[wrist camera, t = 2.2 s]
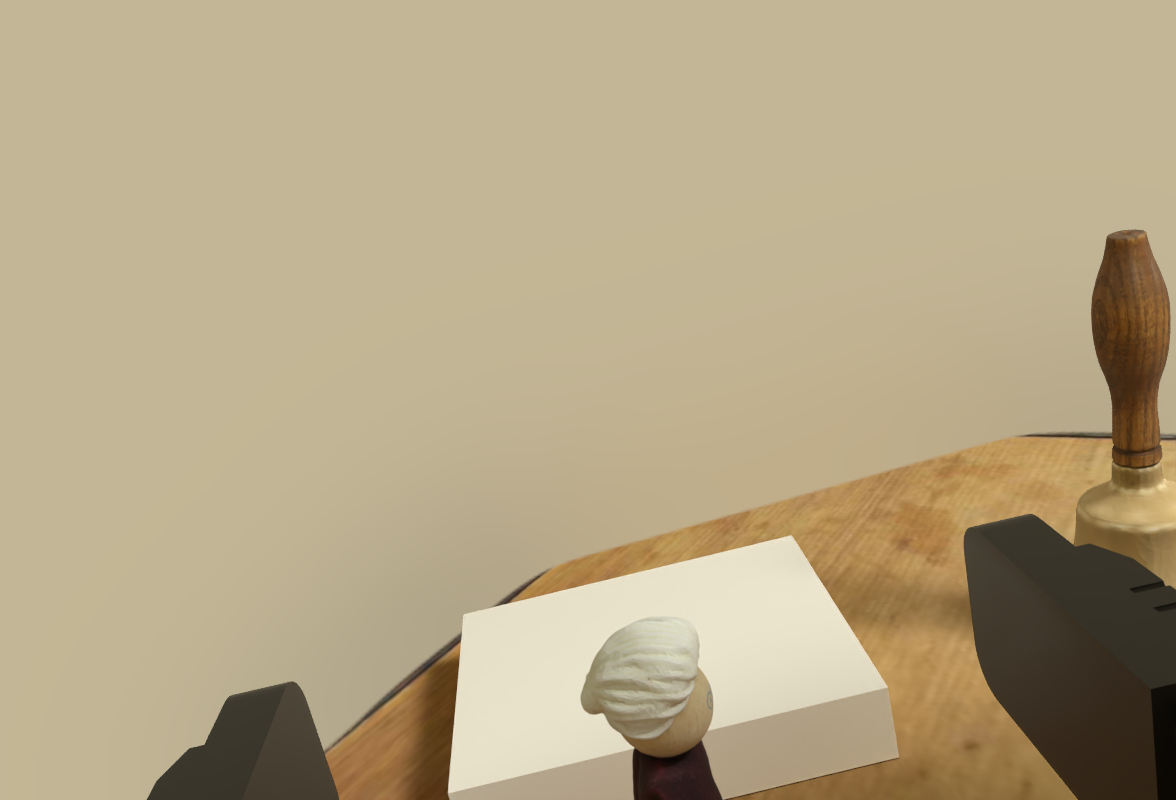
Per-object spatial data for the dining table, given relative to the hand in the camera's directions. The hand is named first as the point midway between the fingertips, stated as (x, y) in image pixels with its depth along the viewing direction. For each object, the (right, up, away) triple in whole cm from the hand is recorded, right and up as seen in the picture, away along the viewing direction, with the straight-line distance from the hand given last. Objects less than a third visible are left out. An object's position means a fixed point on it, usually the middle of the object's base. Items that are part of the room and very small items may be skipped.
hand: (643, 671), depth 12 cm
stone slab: (+2, -10, +31) cm, 33 cm away
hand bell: (+22, -6, +30) cm, 37 cm away
